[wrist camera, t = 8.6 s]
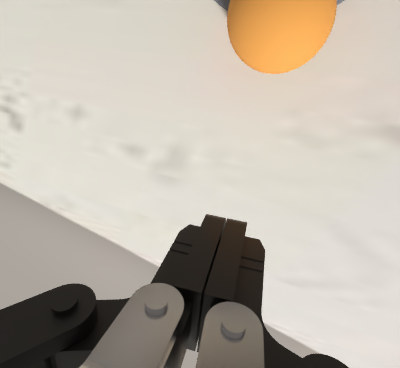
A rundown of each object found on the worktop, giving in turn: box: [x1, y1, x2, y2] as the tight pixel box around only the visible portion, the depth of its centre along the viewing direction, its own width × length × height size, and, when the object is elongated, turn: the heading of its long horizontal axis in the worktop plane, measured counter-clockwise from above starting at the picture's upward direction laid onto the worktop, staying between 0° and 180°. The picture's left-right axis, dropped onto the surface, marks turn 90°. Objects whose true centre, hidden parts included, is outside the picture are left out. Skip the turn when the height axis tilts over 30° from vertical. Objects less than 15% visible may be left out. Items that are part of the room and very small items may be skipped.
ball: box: [227, 0, 337, 74], centre depth 16 cm, size 6×6×6 cm
